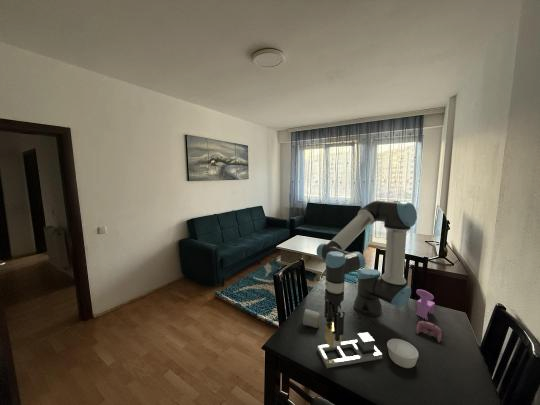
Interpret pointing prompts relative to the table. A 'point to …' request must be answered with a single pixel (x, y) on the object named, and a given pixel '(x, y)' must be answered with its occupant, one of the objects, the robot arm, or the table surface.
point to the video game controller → (435, 330)
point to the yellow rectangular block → (330, 334)
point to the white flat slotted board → (347, 360)
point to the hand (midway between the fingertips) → (332, 341)
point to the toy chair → (424, 303)
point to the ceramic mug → (311, 318)
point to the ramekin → (402, 353)
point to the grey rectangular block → (365, 343)
